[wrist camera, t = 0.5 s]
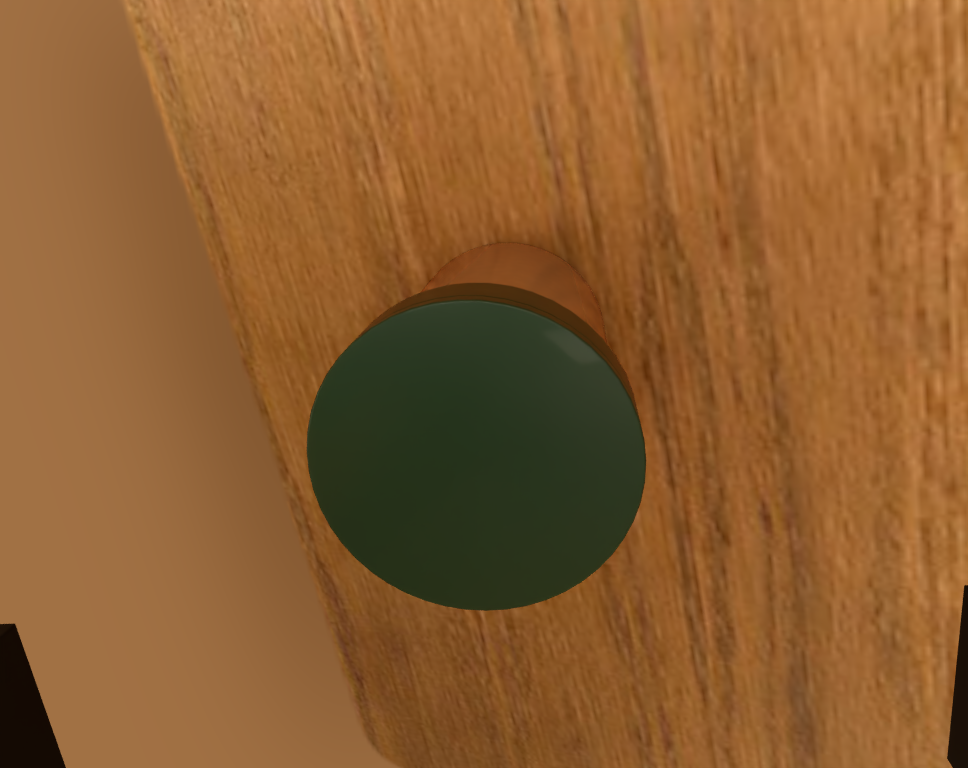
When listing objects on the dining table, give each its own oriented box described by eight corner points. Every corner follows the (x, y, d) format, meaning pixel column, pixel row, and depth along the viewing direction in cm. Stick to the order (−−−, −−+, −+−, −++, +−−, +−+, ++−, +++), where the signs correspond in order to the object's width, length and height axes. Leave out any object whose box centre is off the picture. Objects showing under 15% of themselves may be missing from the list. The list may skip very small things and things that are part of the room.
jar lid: (349, 571, 20) (329, 612, 19) (304, 291, 18) (276, 310, 16) (641, 567, 19) (648, 610, 18) (636, 271, 17) (643, 289, 15)
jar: (424, 430, 28) (352, 585, 19) (403, 249, 26) (309, 322, 17) (607, 424, 27) (627, 582, 18) (601, 236, 25) (621, 305, 16)
